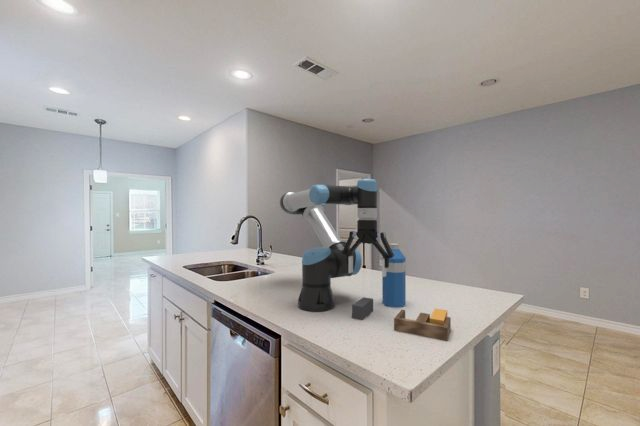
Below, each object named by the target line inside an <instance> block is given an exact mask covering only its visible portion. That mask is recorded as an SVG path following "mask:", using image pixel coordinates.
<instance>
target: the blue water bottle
mask: <svg viewBox="0 0 640 426" xmlns="http://www.w3.org/2000/svg"><path fill="white" fill-rule="evenodd" d="M388 244H389V246H390V248H391V250H392V252H393V254H394V257H392V258H389V267H388V268H386V276H385V277H382V276H381V277H382V291H381V292H382V295H381V296H382V304H383V305H384V306H386V307H390V308H403V307H405V306H406V296H407V295H406V294H407V293H406V290H407V289H406V256H405V255H404V253H403V252H402V251H401V250H400V244H399V243H388ZM385 252H386V253H387V251H385ZM387 254H388V253H387ZM381 259H384V257H383V256H382V258H381Z"/></svg>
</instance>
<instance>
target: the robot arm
mask: <svg viewBox="0 0 640 426" xmlns="http://www.w3.org/2000/svg"><path fill="white" fill-rule="evenodd" d="M356 183H357V184H356V185H353V186H351V185H350V186H347V185H330V184H323V183H322V184H313V185H312V186H311V187H310V188H309V189H306V190H301V191H298V192H297V191H290V192H287V193H286V192H285V193H284V194H283V195H282V196H281V197H280V198H279V199H280V200H279V206H280V208H281V210H282V211H284V213H287V214H289V215H298V216H299V215H300V216H301V215H302V217H303V218H304V220H305V221H308V222H309V223H310V225H311V227H312V229H313V231H314V232H315V234H316V235H317V237H318V240H319V241H320V243H321V244H322V247H321V246H320V247H312V248H308V249H307V250H305V251H303V253H302V258H301V264H302V266H301V269H302V272H301V276H302V277H301V283H302V285H301V290H300V293H299V296H298V300H297V307H298V308H299V309H301V310H303V311H307V312H325V311H329V310H332V309H334V308H335V307H336V299H335V297H334V293H333V289H332V286H331V284H332V282H331V279H336V278H344V277H351V276H356V275H358V274H359V272H360V270H361V268H362V264H363V263H362V262H363V258H362V254H361V252H360V251H359V249H357V248H358V247H359V246H360V245H361V244H369V245H373V246H374V247H375V248H376V250H377V251H378V252H379V253H380V255H381V256H382V257H384V259H382V258H381V259H382V261H381V265H382V267H381V269H382V270H381V277H385V276H386V268H388V267H389V258H392V257H394V254H393V252H392V250H391V248H390V246H389V244H390V243H389V241H388V240H387V237H386V232H384V231H383V232H378V221H377V218H378V184H377V180H376V179H374V178H362V179H358V180H357V182H356ZM326 205H342V206H353V205H356V208H357V215H356V216H357V219H358V220H357V221H356V223H357V225H356V228H357V229H356V231H354V230H351V231H349V233H348V235H349V236H348V238H347V241H345V240H342V239H341V237H340V236H339V235H338V233H337V231H336V229H335V228H334V227H333V225H332V224H331V223H332V222H330V221H329V219H328V217H327V216H326V214H325V213H324V212H325V209H326V208H325V207H326ZM355 237H357V239H356V241H355V243H354V244H353V245H352V243H353V241H354V238H355ZM377 238H379V239H380V241H381V242H382V244H383V247H384V248H383V247H382V245H381V244H380V242H379V240H378V239H377ZM386 252H387V253H388V254H387V253H386Z"/></svg>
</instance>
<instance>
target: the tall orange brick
mask: <svg viewBox="0 0 640 426" xmlns="http://www.w3.org/2000/svg"><path fill="white" fill-rule="evenodd" d="M446 317H448V310H447V309H442V308H434V309H433V310H432V314H430V323H432V324H438V325H444V323H445V320H446Z"/></svg>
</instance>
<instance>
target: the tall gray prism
mask: <svg viewBox="0 0 640 426" xmlns="http://www.w3.org/2000/svg"><path fill="white" fill-rule="evenodd" d="M373 312H374V299H373V298H371V297H362V298H360V299H359V300H357V301H356V302H354V303H353V304H352V305H351V315H352V316H351V319H354V320H358V321H363V320H365V319H366V318H367V317H368V316H369V315H371V314H372V313H373Z"/></svg>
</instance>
